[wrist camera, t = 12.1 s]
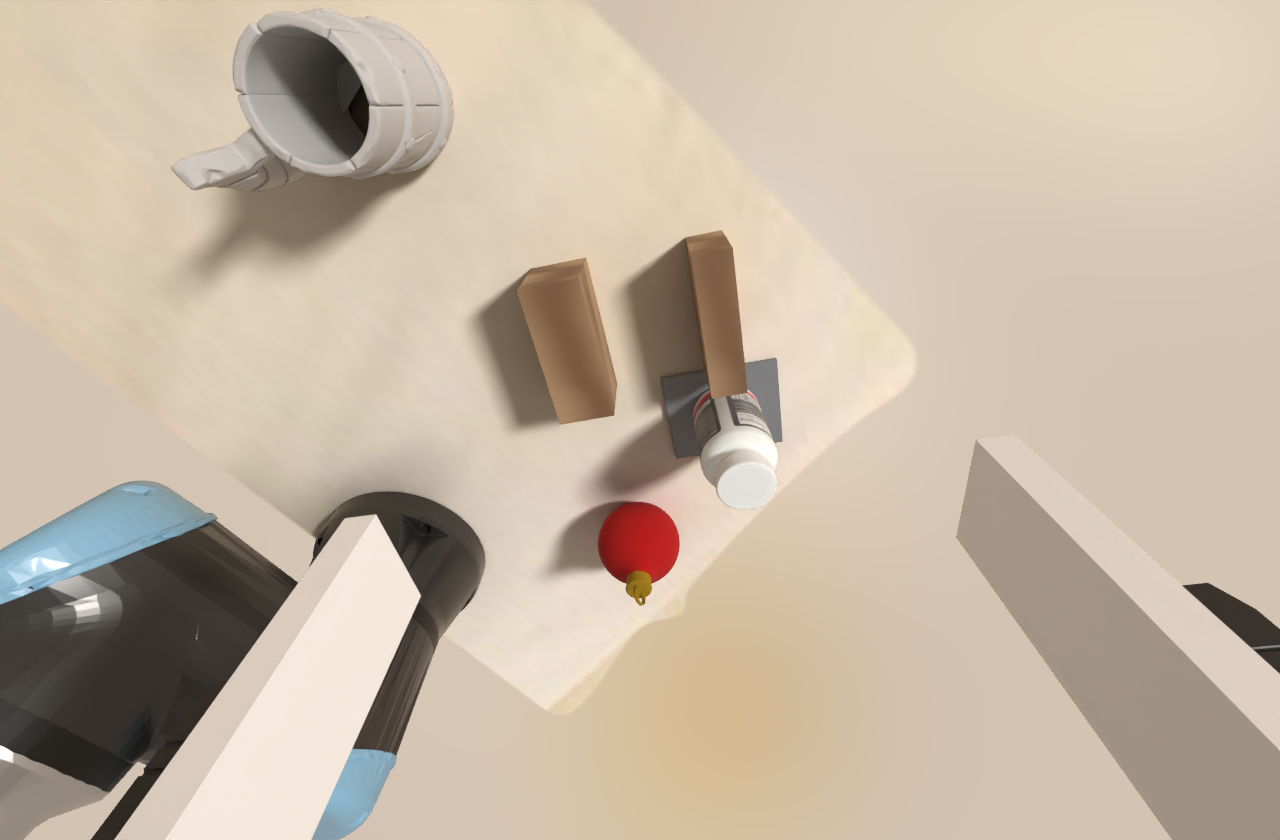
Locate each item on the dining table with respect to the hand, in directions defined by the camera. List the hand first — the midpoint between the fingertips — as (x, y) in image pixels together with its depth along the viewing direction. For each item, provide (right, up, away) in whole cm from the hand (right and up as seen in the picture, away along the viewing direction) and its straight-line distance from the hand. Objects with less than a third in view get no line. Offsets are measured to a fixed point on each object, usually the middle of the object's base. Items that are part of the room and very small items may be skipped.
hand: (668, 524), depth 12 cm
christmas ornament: (-1, -6, +37) cm, 38 cm away
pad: (+6, +3, +31) cm, 32 cm away
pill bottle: (+6, +3, +31) cm, 32 cm away
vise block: (0, +10, +27) cm, 29 cm away
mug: (-17, +21, +21) cm, 34 cm away
